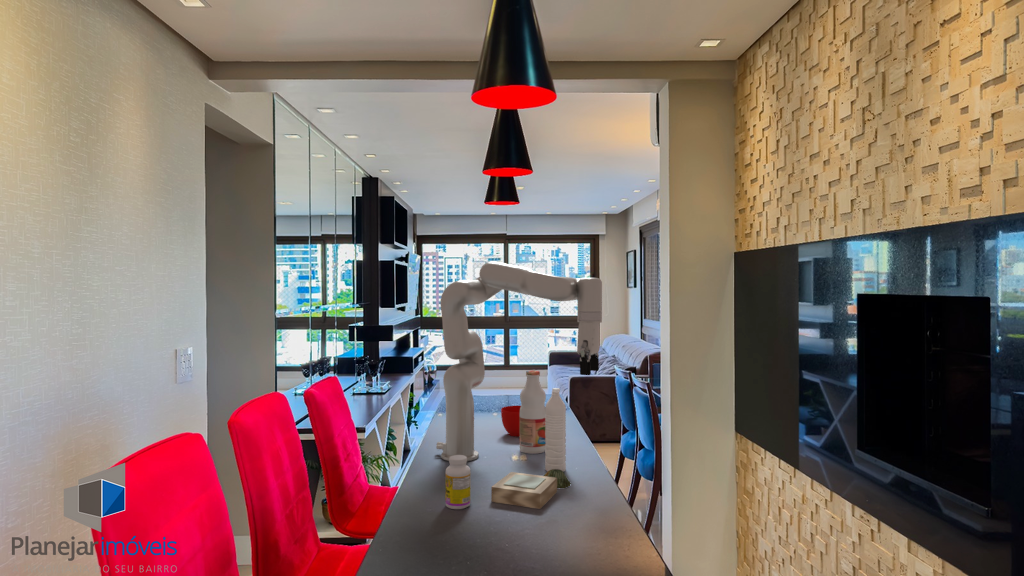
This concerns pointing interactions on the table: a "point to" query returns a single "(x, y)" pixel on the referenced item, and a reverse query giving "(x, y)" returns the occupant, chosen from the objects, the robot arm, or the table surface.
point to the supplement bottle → (457, 483)
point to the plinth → (524, 490)
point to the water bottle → (555, 432)
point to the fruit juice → (532, 415)
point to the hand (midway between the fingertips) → (589, 372)
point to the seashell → (558, 477)
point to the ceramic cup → (511, 419)
